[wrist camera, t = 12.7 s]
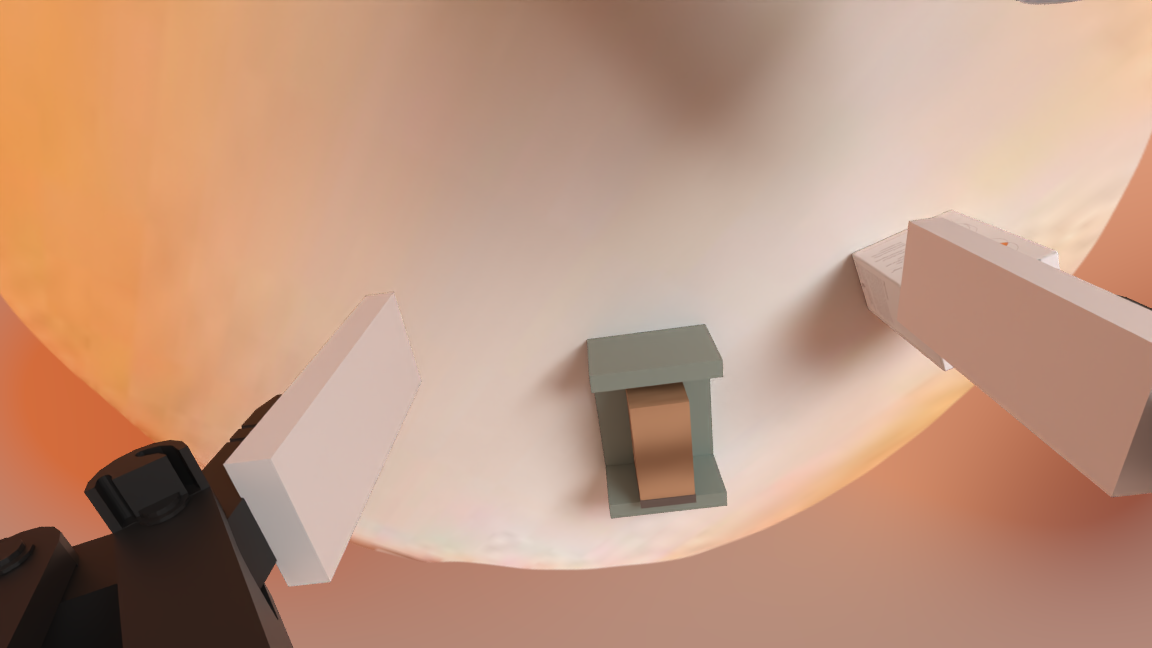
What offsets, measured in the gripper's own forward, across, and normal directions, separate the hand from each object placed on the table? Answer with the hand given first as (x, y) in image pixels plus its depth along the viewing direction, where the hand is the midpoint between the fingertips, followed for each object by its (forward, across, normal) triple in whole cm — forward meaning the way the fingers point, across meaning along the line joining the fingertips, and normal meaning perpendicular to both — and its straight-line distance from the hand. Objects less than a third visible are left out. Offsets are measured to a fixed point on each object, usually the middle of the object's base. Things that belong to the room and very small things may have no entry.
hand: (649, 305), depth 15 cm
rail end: (+28, +2, -23) cm, 36 cm away
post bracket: (+29, +2, -23) cm, 37 cm away
